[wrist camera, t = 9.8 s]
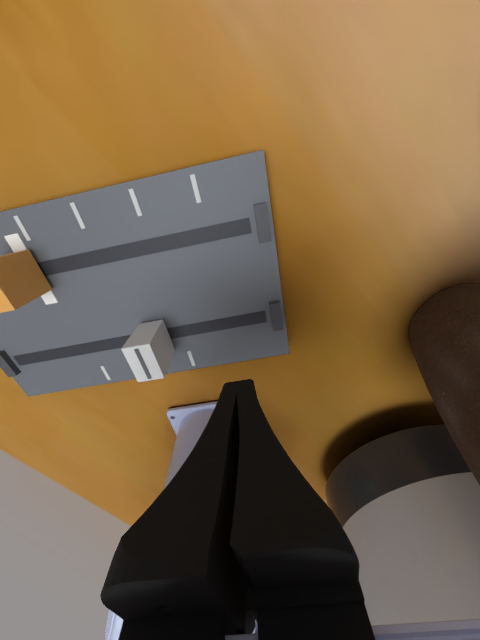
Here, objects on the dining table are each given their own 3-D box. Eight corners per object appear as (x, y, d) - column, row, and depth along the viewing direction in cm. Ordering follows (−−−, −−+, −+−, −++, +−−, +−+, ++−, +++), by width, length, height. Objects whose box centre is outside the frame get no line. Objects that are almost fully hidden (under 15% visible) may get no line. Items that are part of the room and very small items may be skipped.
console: (286, 343, 23) (290, 356, 21) (39, 385, 25) (24, 400, 23) (261, 152, 16) (264, 148, 14) (-77, 232, 18) (-110, 237, 17)
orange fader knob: (52, 289, 19) (14, 310, 15) (27, 294, 19) (-15, 316, 16) (28, 249, 17) (-19, 263, 14) (2, 255, 17) (-51, 270, 14)
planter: (286, 458, 31) (335, 733, 15) (434, 370, 25) (773, 686, 9) (370, 514, 38) (465, 748, 22) (505, 455, 31) (776, 727, 15)
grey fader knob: (175, 350, 21) (164, 378, 18) (152, 353, 21) (137, 383, 18) (163, 319, 20) (148, 344, 17) (139, 323, 20) (120, 349, 17)
